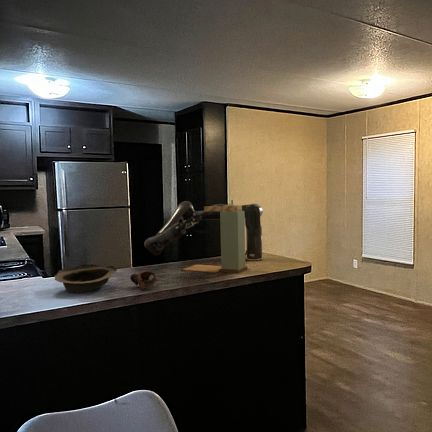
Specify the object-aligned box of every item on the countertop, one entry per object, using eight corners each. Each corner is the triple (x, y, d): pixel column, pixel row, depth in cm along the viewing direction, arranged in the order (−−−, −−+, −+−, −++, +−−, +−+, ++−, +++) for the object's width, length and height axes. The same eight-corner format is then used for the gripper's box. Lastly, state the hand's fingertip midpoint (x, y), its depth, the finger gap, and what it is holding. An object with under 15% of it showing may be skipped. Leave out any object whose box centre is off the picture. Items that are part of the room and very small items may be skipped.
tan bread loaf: (202, 211, 231) (202, 199, 231) (208, 210, 237) (207, 199, 236) (236, 211, 224) (236, 200, 224) (241, 211, 230) (241, 199, 229)
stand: (219, 271, 228) (217, 212, 225) (229, 267, 238) (227, 210, 235) (238, 273, 224) (237, 212, 221) (247, 269, 234) (246, 210, 232)
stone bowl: (98, 279, 211) (98, 260, 210) (127, 291, 195) (127, 270, 194) (44, 288, 192) (43, 268, 191) (70, 302, 176) (70, 280, 175)
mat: (182, 270, 233) (182, 269, 233) (196, 265, 246) (196, 264, 246) (215, 272, 226) (215, 271, 226) (228, 267, 239) (228, 266, 239)
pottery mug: (159, 285, 202) (160, 271, 197) (151, 299, 194) (153, 285, 189) (133, 278, 201) (134, 265, 197) (124, 292, 193) (125, 278, 189)
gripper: (164, 227, 235) (186, 212, 230) (179, 225, 249) (200, 210, 243) (170, 239, 234) (192, 225, 229) (185, 236, 248) (207, 222, 242)
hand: (196, 217), depth 236 cm, fingers open, 8 cm apart
